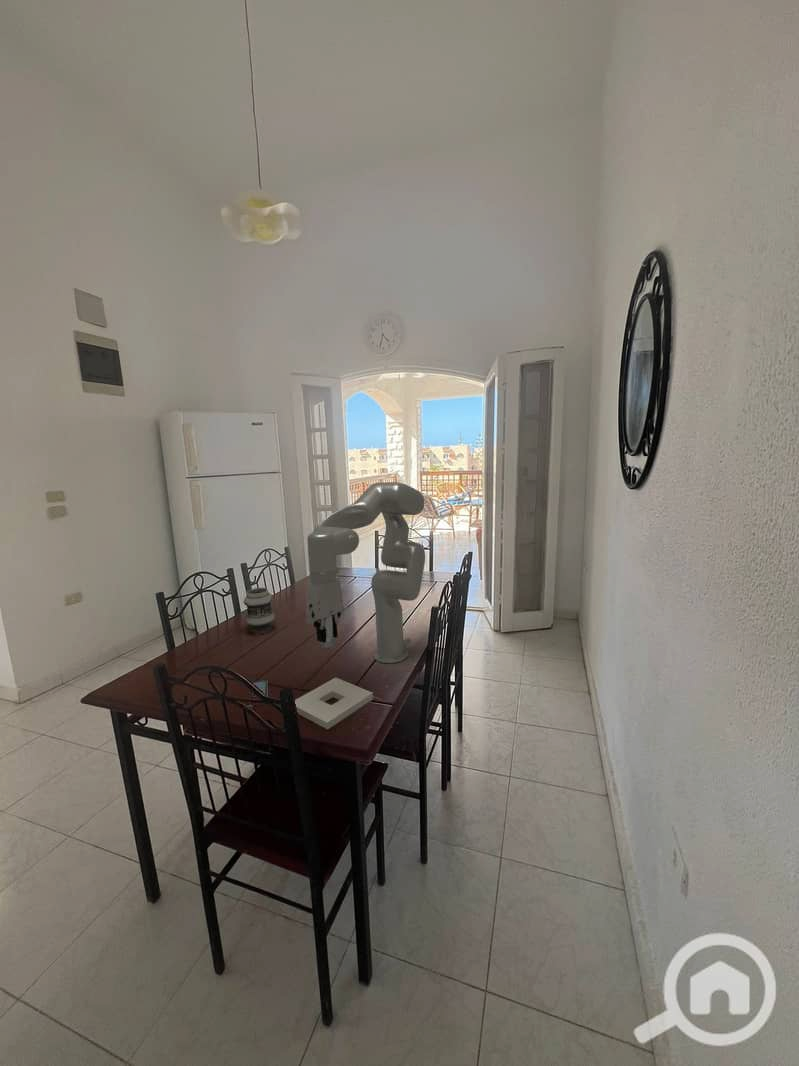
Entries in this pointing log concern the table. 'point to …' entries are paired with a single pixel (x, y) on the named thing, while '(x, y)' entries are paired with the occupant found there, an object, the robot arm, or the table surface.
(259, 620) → the apothecary jar
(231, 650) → the table surface
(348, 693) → the socket plate
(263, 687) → the smartphone
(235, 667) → the table surface
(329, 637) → the peg
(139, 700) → the table surface
